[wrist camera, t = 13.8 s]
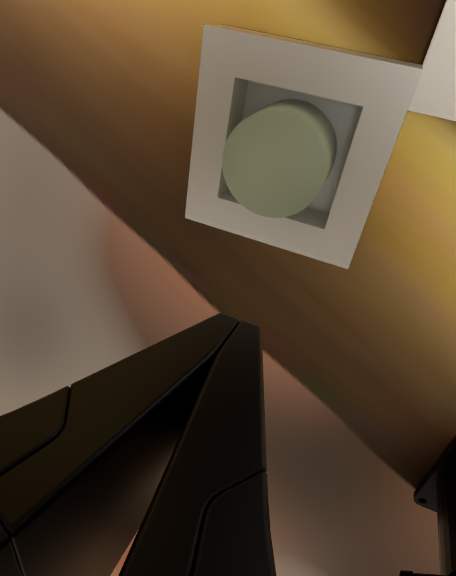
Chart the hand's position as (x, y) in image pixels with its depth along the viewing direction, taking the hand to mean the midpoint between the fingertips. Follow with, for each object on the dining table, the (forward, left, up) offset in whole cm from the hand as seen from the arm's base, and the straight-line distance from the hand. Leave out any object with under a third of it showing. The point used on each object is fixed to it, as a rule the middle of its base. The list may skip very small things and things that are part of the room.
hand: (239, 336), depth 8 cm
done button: (0, +2, -12) cm, 12 cm away
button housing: (0, +2, -13) cm, 13 cm away
